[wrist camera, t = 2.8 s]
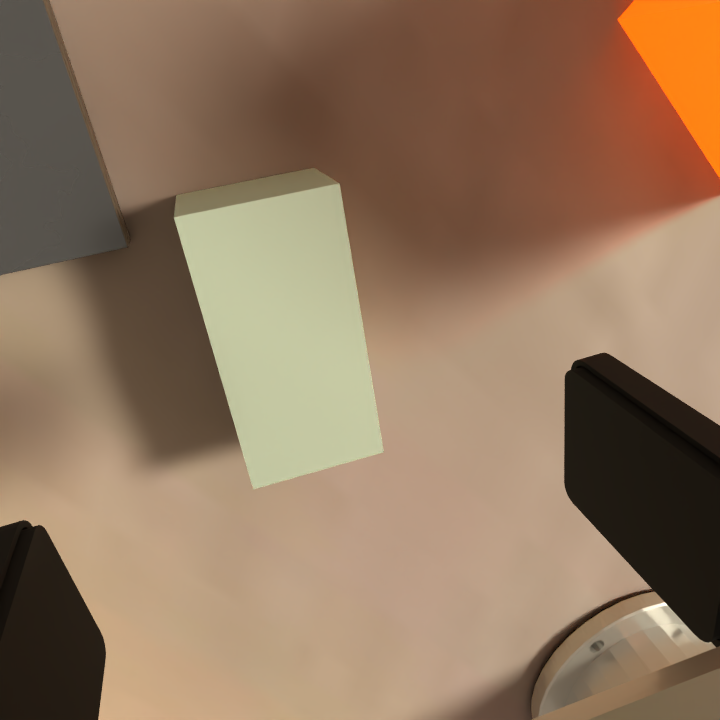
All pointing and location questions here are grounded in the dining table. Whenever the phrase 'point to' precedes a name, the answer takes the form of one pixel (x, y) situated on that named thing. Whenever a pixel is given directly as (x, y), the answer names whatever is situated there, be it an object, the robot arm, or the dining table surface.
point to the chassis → (48, 150)
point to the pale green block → (283, 320)
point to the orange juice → (683, 61)
